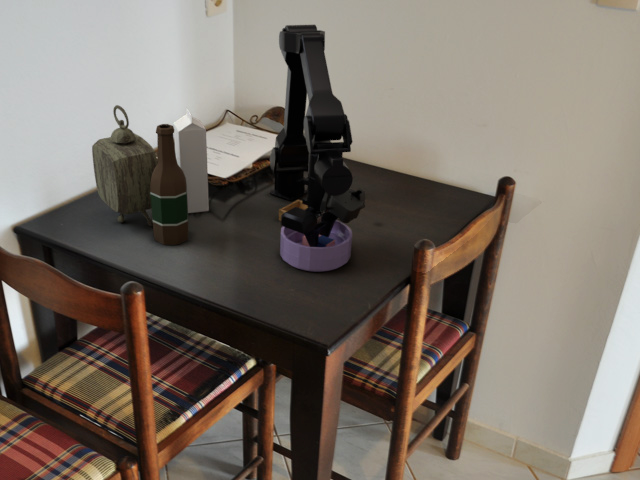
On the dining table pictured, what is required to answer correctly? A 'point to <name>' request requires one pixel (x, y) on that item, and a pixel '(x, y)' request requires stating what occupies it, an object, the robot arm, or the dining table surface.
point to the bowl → (316, 249)
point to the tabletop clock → (124, 170)
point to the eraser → (321, 241)
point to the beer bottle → (168, 192)
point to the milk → (193, 160)
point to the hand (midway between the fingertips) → (318, 247)
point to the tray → (295, 204)
